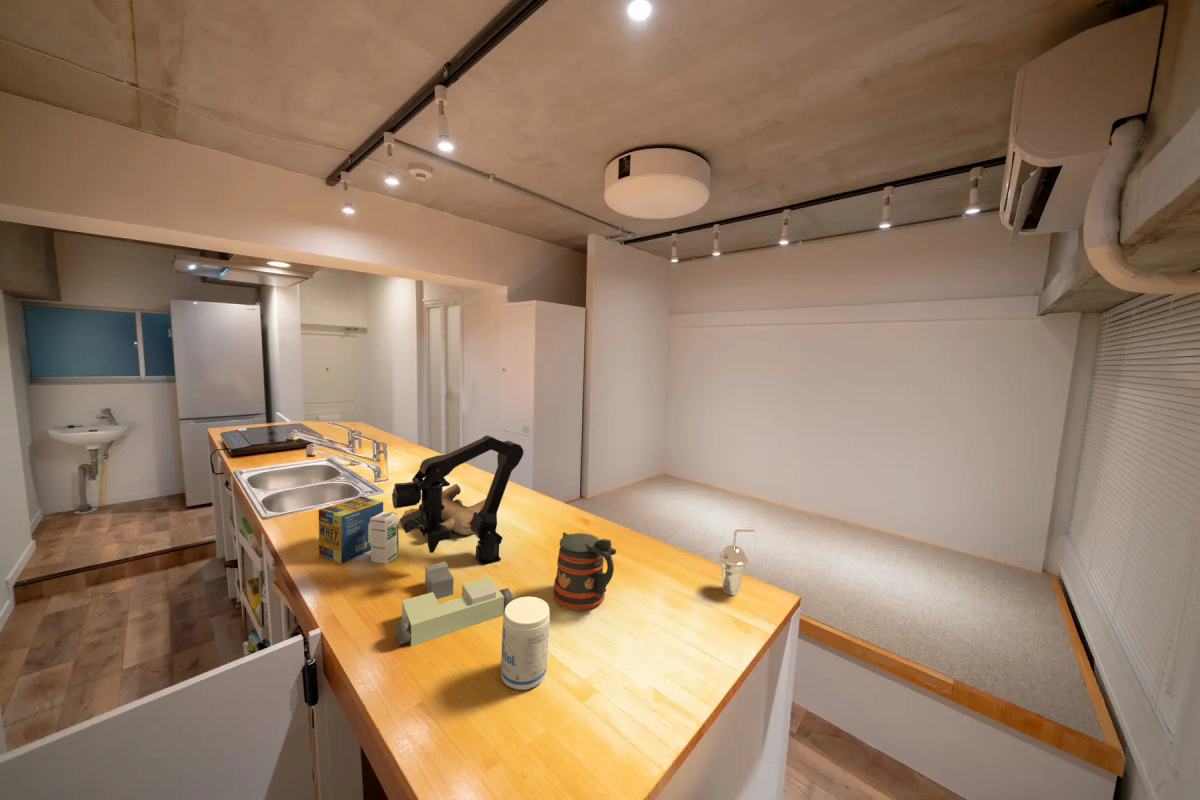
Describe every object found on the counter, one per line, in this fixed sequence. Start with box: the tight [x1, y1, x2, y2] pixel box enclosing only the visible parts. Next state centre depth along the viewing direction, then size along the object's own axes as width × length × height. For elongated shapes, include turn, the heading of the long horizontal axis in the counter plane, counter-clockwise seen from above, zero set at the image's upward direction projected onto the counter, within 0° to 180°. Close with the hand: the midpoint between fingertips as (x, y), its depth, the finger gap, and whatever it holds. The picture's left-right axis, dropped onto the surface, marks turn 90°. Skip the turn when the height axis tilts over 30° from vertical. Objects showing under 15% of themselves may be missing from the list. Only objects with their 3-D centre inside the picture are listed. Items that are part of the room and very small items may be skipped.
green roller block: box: [395, 576, 513, 647], centre depth 103 cm, size 27×11×6 cm, turn 126°
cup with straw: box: [717, 529, 756, 596], centre depth 121 cm, size 8×9×20 cm
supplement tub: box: [500, 596, 551, 691], centre depth 85 cm, size 10×10×15 cm
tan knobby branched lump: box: [401, 483, 486, 536], centre depth 155 cm, size 13×31×25 cm
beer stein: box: [552, 532, 617, 611], centre depth 113 cm, size 19×15×20 cm
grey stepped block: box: [424, 561, 454, 600], centre depth 114 cm, size 6×8×6 cm
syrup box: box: [370, 511, 400, 565], centre depth 129 cm, size 6×6×14 cm
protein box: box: [318, 495, 384, 565], centre depth 133 cm, size 10×15×16 cm
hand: (431, 552), depth 121 cm, fingers closed
